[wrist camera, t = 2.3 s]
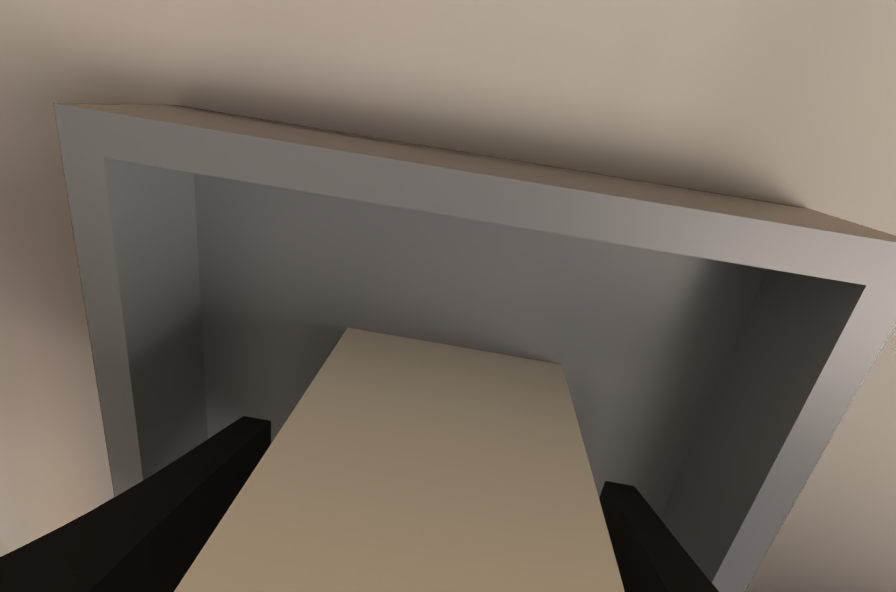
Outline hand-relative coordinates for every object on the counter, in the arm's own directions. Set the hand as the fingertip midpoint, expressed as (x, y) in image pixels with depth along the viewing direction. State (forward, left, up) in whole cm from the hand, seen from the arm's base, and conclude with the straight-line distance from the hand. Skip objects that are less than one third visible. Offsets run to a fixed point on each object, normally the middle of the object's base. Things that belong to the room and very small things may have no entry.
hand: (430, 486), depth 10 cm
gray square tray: (0, 0, -2) cm, 2 cm away
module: (0, 0, -2) cm, 2 cm away
